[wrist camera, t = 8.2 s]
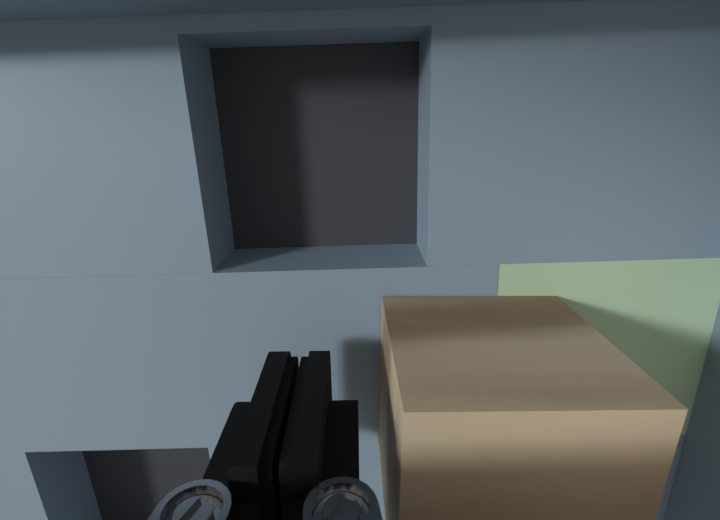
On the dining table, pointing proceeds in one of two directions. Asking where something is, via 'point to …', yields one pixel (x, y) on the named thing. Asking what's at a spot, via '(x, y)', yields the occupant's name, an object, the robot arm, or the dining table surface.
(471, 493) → the oak block
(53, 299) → the trap board
